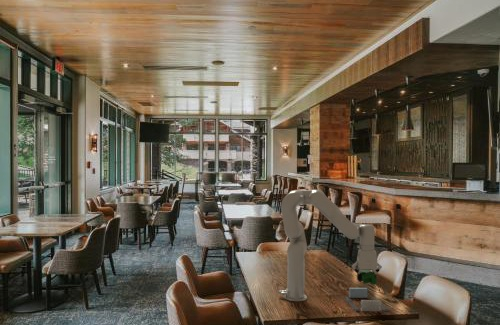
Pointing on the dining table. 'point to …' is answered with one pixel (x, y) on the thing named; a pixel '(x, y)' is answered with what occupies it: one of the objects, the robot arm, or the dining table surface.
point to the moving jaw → (358, 292)
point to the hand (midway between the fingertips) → (366, 280)
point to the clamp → (368, 277)
